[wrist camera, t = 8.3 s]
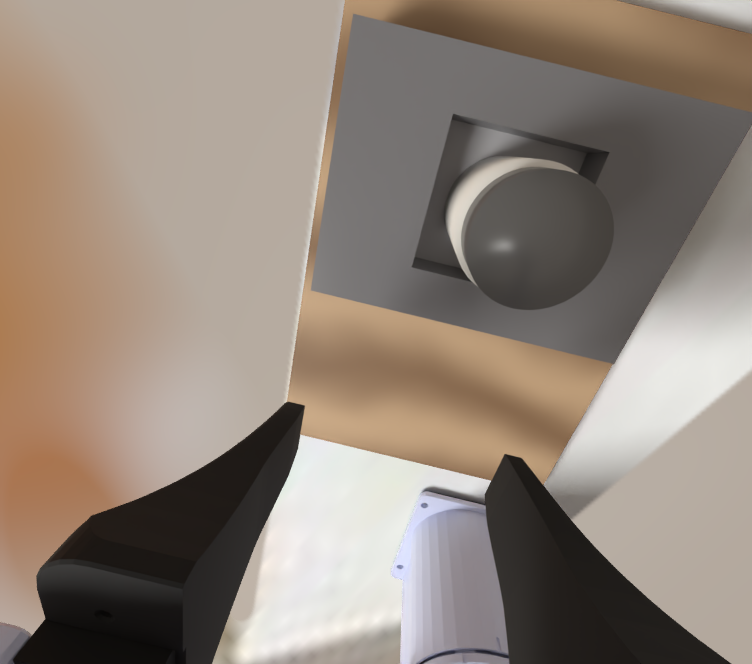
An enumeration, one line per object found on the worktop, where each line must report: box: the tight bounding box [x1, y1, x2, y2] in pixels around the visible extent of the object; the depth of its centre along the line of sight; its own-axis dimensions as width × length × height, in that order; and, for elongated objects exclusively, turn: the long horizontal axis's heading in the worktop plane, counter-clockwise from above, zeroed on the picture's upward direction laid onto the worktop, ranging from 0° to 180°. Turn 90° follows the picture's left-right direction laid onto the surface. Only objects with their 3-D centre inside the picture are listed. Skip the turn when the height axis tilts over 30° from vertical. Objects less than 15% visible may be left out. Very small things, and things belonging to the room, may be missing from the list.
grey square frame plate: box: [311, 14, 752, 364], centre depth 16 cm, size 14×10×3 cm
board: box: [287, 0, 752, 485], centre depth 20 cm, size 24×17×1 cm
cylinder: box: [444, 156, 614, 310], centre depth 14 cm, size 4×4×6 cm
